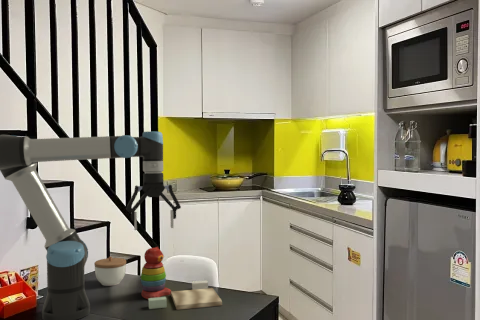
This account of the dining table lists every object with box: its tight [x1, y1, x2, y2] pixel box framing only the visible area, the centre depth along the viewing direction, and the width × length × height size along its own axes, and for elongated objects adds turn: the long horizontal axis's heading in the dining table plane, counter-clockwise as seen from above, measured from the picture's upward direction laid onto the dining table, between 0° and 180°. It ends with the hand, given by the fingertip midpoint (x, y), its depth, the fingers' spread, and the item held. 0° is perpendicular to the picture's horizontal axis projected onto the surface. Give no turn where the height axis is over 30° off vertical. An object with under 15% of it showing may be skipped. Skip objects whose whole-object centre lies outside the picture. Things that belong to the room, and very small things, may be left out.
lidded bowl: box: [94, 256, 127, 287], centre depth 188 cm, size 13×13×11 cm
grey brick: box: [191, 279, 209, 290], centre depth 179 cm, size 6×3×3 cm, turn 101°
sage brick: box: [147, 296, 168, 310], centre depth 159 cm, size 6×3×3 cm, turn 107°
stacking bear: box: [140, 246, 172, 300], centre depth 173 cm, size 11×10×18 cm
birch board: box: [170, 287, 223, 311], centre depth 166 cm, size 16×16×2 cm
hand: (154, 228), depth 172 cm, fingers open, 13 cm apart
